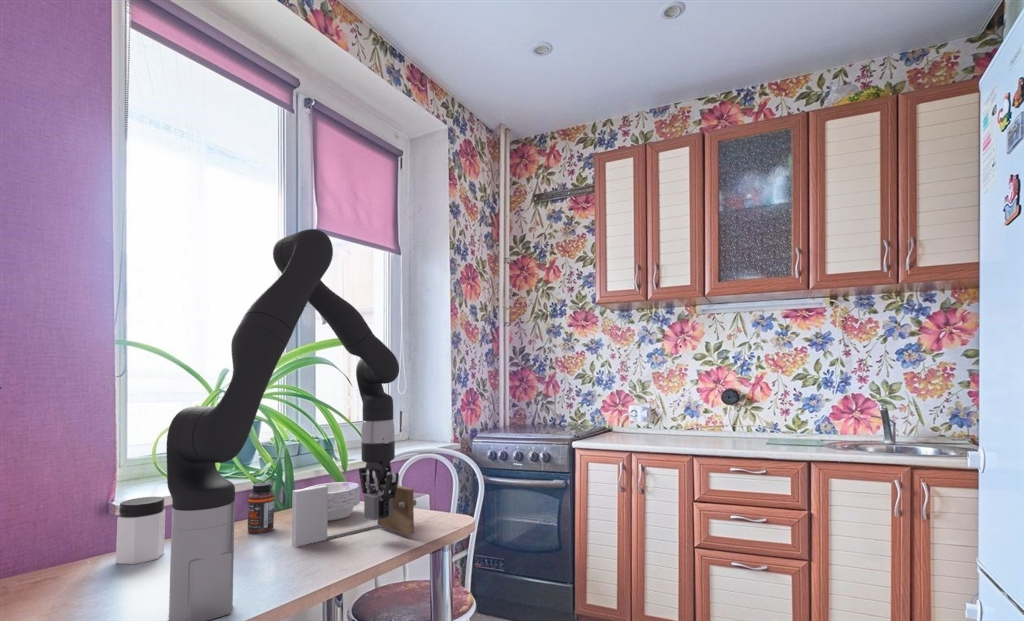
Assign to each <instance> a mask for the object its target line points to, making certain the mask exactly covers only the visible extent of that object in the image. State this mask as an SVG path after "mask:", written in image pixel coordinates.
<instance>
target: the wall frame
mask: <svg viewBox="0 0 1024 621" xmlns="http://www.w3.org/2000/svg"><path fill="white" fill-rule="evenodd" d="M397 485H399V486H400V478H399V479H398V484H397ZM291 499H292V502H291V503H292V505H291V506H292V507H291V508H292V509H291V511H292V512H291V513H292V514H291V546H293V547H295V548H298V547H302V546H307V545H311V544H314V542H315V543H319V542H322V540H323V541H326V540H325V539H328V540H330V538H332V539H335V538H334V537H336V538H339V537H338V536H340V537H343V535H344V536H348V535H347V534H349V535H351V534H352V533H353V534H357V533H360V532H361V533H362V532H365V530H366V531H369V529H370V530H374V529H378V528H382V527H383V526H380V525H379V524H378V519H377V520H373V523H371V524H370V523H369V524H366V525H362V526H358V527H357V526H356V527H353V528H348V529H344V530H341V531H340V530H339V531H335V532H332V533H328V521H327V511H328V486H324V485H323V486H317V487H311V488H307V487H305V488H302V489H301V488H299V489H295V490H294V489H293V490H292V498H291ZM356 532H357V533H356ZM353 534H352V535H353ZM318 541H319V542H318ZM310 543H311V544H310ZM306 544H307V545H306Z"/></svg>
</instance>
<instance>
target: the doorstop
mask: <svg viewBox="0 0 1024 621" xmlns="http://www.w3.org/2000/svg"><path fill="white" fill-rule="evenodd" d="M383 494H384V491H383ZM363 496H364V498H363V499H364V500H363V501H364V507H363V508H364V509H363V510H364V511H363V512H364V516H363V517H364V518H365V519H369V520H371V521H374V520H377V519H382V518H380V517H379V496H378V492H377V493H372V494H367V495H366V494H363ZM390 516H393V498H391V499H390V500H389V516H388V517H390ZM385 518H386V517H385Z"/></svg>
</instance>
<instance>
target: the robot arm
mask: <svg viewBox="0 0 1024 621" xmlns="http://www.w3.org/2000/svg"><path fill="white" fill-rule="evenodd" d="M333 247H334V246H333V243H332V241H331V239H330V237H329V235H328V234H327V233H325V231H322V230H320V229H315V228H310V229H309V228H308V229H304V230H300V231H298V232H296V233H293V234H290V235H288V236H285V237H283V238H281V239H279V240H278V241H277V242H276V243H275V244H274V246H273V250H272V259H273V262H274V264H275V266H276V268H277V270H278V271H279V272H280V273H281V274H280V276H278V278H277V279H276V280H275V281H274V282H273V283H272V284H271V285H270V286H269V287H267V289H266V290H265V291H264V292H262V294H261V295H259V296H258V297H257V299H255V301H254V302H253V303H252V304H251V305H250V307H248V309H247V311H246V312H245V313H244V315H243V317H242V318H241V319H240V320H241V321H240V323H239V324H238V326H237V328H236V330H235V331H234V334H233V336H232V339H231V345H230V346H231V347H230V348H231V359H232V369H233V371H232V377H231V380H230V382H229V385H228V386H227V389H226V391H225V392H224V394H223V396H222V398H221V399H220V401H219V402H218V404H217V405H216V406H205V405H204V406H203V405H202V406H190V407H186V408H183V409H182V410H180V411H179V412H178V413H176V414H175V416H174V417H173V419H172V420H171V422H170V425H169V427H168V431H167V435H166V481H167V482H166V484H167V489H168V492H169V494H170V496H171V502H172V505H171V506H172V508H171V531H170V533H171V534H170V535H171V538H170V562H169V564H170V565H169V568H170V570H169V601H168V603H169V604H168V605H169V606H168V620H169V621H211V620H214V619H217V618H221V617H224V616H227V615H230V614H231V613H232V609H233V606H234V603H233V602H234V601H233V600H234V559H235V558H234V557H235V556H234V551H235V550H234V549H235V545H234V544H235V508H236V507H235V506H236V505H235V504H236V487H235V484H234V483H233V482H232V481H230V480H228V479H227V478H226V477H224V476H223V475H222V474H221V473H220V472H219V471H218V469H217V465H216V464H222V463H227V462H230V461H232V460H233V459H235V457H237V456H238V454H240V452H241V451H242V449H243V448H244V446H245V444H246V442H247V440H248V438H249V435H250V433H251V430H252V427H253V425H254V422H255V419H256V418H257V417H256V416H257V413H258V410H259V408H260V404H261V403H262V399H263V396H264V394H265V392H266V390H267V387H268V385H269V383H270V381H271V378H272V376H273V373H274V371H275V370H276V367H277V365H278V363H279V361H280V359H281V357H282V355H283V353H284V352H285V349H286V348H287V346H288V344H289V343H290V339H291V337H292V335H293V333H294V331H295V328H296V326H297V324H298V321H299V319H300V318H301V316H302V313H303V312H304V310H305V308H306V305H307V304H308V303H309V304H310V305H311V306H312V307H313V308H314V310H316V311H317V313H319V315H320V316H321V317H322V318H323V319H324V320H325V322H326V323H327V324H328V326H329V327H330V329H331V330H332V332H334V334H335V335H336V337H337V338H338V340H339V341H340V343H341V344H342V346H343V347H344V349H345V350H346V351H347V352H348V353H349V354H350V355H352V356H356V357H358V358H359V360H358V362H357V364H356V370H355V376H356V382H357V386H358V387H357V388H358V391H359V395H360V398H361V402H362V407H361V408H362V411H361V412H362V422H361V423H362V424H361V434H360V435H361V437H360V438H361V442H360V443H361V446H360V448H361V449H360V450H361V461H362V462H364V463H366V464H365V467H360V468H359V469H358V473H359V474H358V475H359V480H360V485H361V486H360V488H361V492H362V494H363V495H367V494H372V493H377V492H378V496H379V517H380V518H385V517H388V516H389V500H390V499H391V498H395V495H396V490H397V484H398V479H399V480H400V474H399V473H398V472H395V473H394V471H393V470H392V466H391V463H392V461H393V460H394V459H395V457H396V451H395V450H396V448H395V447H396V446H395V445H396V444H395V443H396V442H395V441H396V437H395V435H396V434H395V433H396V432H395V422H394V399H393V396H391V395H390V394H388V393H386V392H385V391H384V386H383V384H390V383H392V382H394V381H395V380H396V379H397V378H398V376H399V373H400V365H399V361H398V359H397V357H396V355H395V354H394V353H393V352H392V350H391V349H390V348H389V347H388V346H386V344H385V343H384V342H383V341H382V340H381V339H379V338H378V337H377V335H375V334H374V333H373V331H372V329H371V327H370V326H369V325H368V324H367V322H366V320H365V319H364V317H363V315H362V314H361V313H360V312H359V310H357V309H356V308H355V307H354V306H353V304H351V303H349V301H346V299H344V298H343V297H341V296H340V295H338V294H337V293H335V291H333V290H331V289H330V287H328V286H327V285H326V284H325V283H324V282H323V281H322V278H323V277H324V276H325V273H326V272H327V271H328V269H329V268H330V265H331V263H332V260H333V255H334V248H333ZM381 485H385V486H382V487H381ZM383 490H384V494H383ZM390 490H391V493H390Z"/></svg>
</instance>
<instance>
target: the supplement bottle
mask: <svg viewBox="0 0 1024 621" xmlns="http://www.w3.org/2000/svg"><path fill="white" fill-rule="evenodd" d="M247 503H248V504H247V532H248V533H250V534H264V533H268V532H271V531H272V530H274V522H275V521H274V520H275V518H274V517H275V515H274V513H275V493H274V491H272V490H271V483H270V482H257V483H254V484H253V485H252V492H251V493H250V494H249V495H248V501H247ZM263 532H264V533H263Z"/></svg>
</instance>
